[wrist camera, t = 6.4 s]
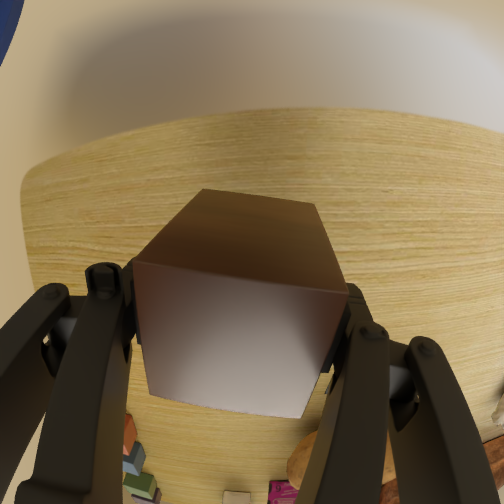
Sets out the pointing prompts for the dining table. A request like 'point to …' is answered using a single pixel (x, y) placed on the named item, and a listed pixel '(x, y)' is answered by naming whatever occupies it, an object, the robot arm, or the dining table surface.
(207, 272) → the walnut block
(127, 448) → the block
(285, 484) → the candy bar box
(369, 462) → the robot arm
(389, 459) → the potato
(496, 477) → the bread
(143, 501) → the block
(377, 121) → the dining table surface
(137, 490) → the block
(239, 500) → the ink box
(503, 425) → the figurine
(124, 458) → the block
